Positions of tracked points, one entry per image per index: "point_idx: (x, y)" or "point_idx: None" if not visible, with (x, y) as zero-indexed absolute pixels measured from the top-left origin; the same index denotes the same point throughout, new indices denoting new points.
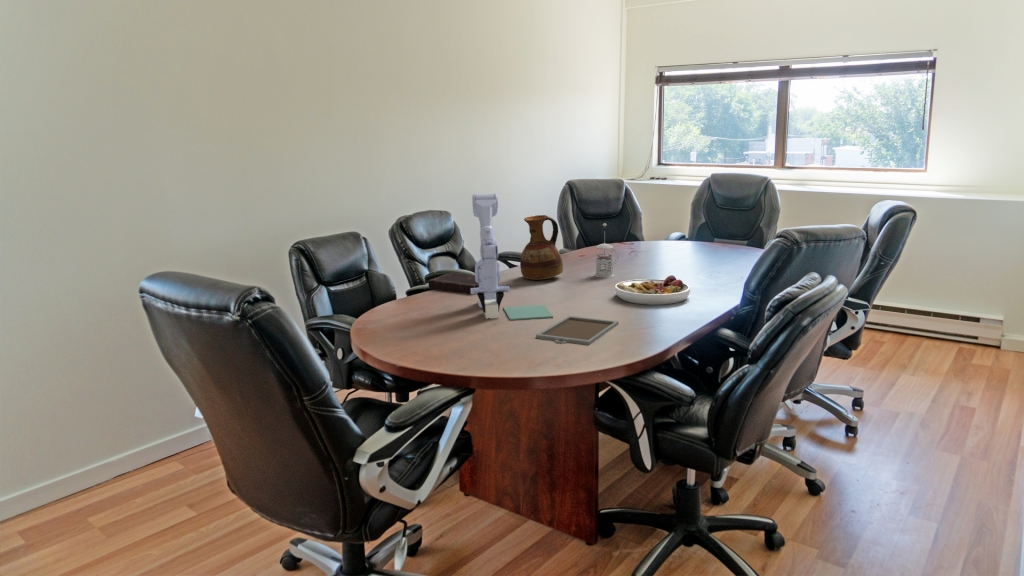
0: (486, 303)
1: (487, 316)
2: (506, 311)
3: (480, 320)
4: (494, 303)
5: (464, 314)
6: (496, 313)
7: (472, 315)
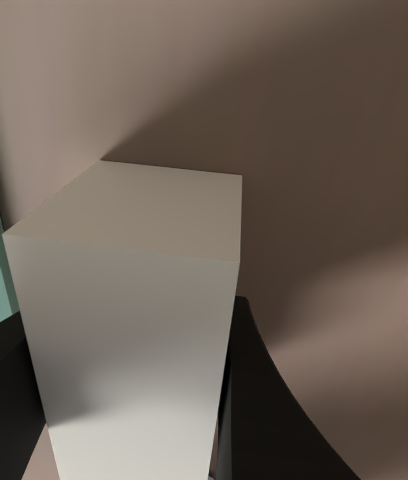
0: (198, 377)
1: (227, 182)
2: (7, 315)
3: (338, 118)
4: (70, 338)
5: (396, 387)
6: (100, 181)
7: (341, 338)
